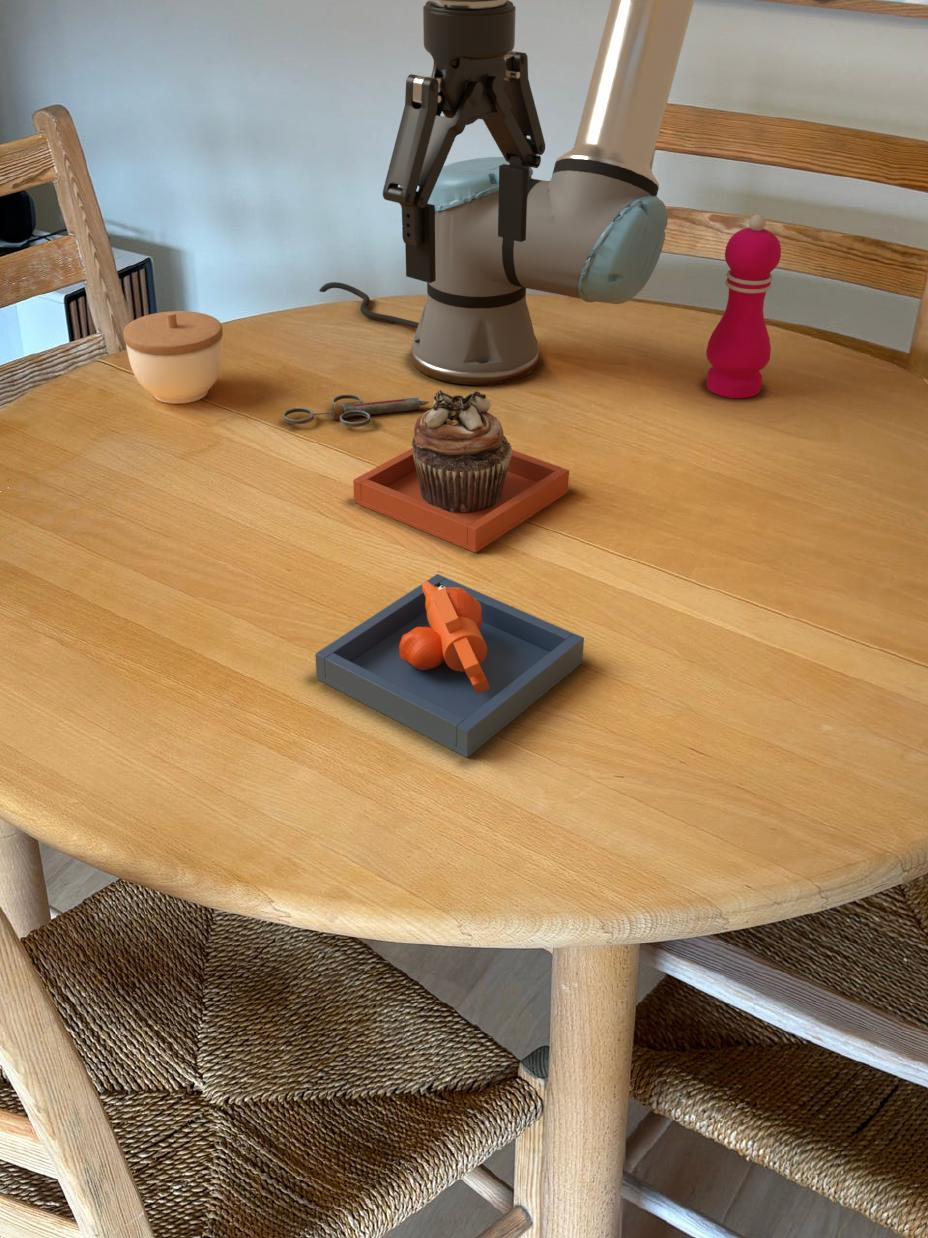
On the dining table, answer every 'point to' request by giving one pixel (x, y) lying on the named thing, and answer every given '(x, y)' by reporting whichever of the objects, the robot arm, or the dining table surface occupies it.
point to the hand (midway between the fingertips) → (468, 257)
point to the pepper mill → (744, 314)
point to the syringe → (358, 409)
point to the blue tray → (450, 670)
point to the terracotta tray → (401, 500)
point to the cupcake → (460, 454)
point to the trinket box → (175, 354)
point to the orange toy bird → (448, 635)
